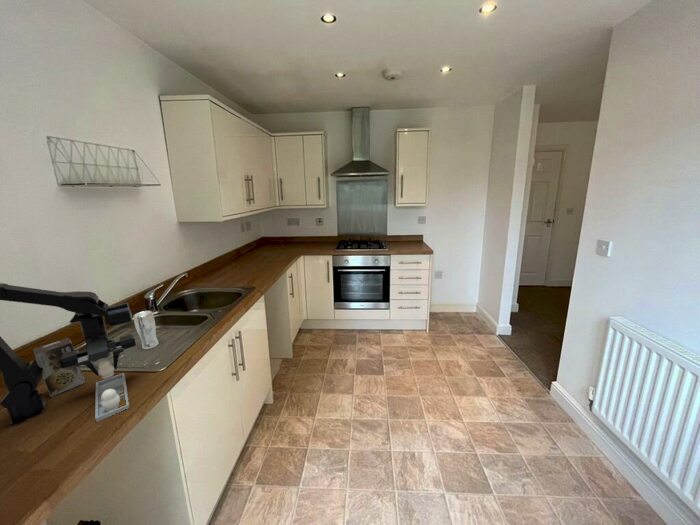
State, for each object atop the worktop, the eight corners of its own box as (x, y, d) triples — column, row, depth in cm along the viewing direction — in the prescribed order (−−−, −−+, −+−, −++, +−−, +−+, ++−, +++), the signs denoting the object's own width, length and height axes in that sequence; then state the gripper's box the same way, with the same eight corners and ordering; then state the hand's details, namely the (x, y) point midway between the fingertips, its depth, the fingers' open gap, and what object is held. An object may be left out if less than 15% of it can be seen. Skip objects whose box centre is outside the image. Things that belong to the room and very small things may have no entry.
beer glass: (162, 344, 126) (154, 312, 123) (143, 351, 121) (134, 318, 118) (157, 339, 131) (149, 309, 127) (139, 346, 126) (130, 314, 122)
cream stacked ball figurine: (99, 381, 95) (94, 364, 94) (99, 375, 99) (94, 358, 97) (116, 375, 98) (111, 358, 97) (115, 369, 101) (111, 353, 100)
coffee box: (82, 376, 106) (69, 336, 102) (85, 383, 102) (72, 342, 98) (47, 390, 100) (32, 348, 96) (49, 397, 96) (33, 354, 92)
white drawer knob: (103, 415, 86) (97, 397, 84) (103, 407, 89) (97, 390, 88) (122, 408, 89) (117, 390, 87) (121, 400, 92) (116, 383, 90)
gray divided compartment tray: (96, 422, 84) (95, 418, 83) (97, 386, 100) (95, 382, 100) (129, 409, 88) (128, 404, 88) (124, 376, 105) (123, 372, 105)
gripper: (51, 351, 83) (67, 397, 86) (131, 328, 94) (142, 370, 98) (55, 337, 91) (70, 380, 95) (129, 318, 102) (139, 357, 106)
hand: (107, 372), depth 98 cm, fingers closed on cream stacked ball figurine, 4 cm apart
